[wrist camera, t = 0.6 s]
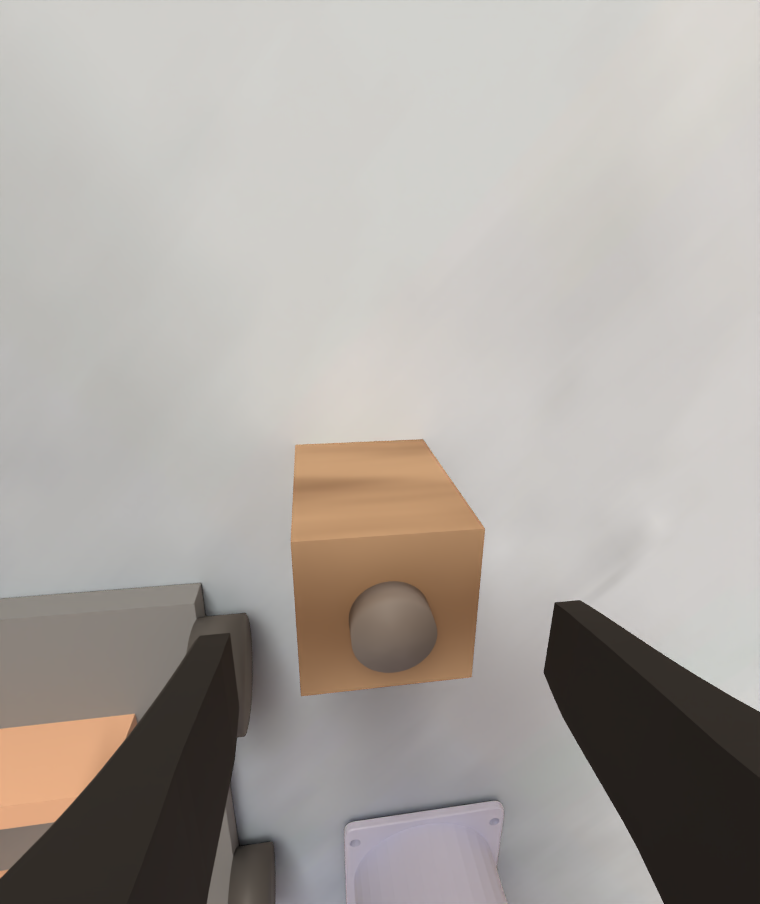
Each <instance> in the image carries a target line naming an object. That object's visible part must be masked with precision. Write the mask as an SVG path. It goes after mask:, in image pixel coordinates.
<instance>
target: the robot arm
mask: <svg viewBox="0 0 760 904" xmlns="http://www.w3.org/2000/svg"><path fill="white" fill-rule="evenodd" d="M544 674H545V677H546V679H547V682H548V684H549V687H550V689H551V691H552V694H553V696H554V699H555V701H556V703H557V705H558V707H559V710H560V712H561V714H562V716H563V718H564V720H565V722H566V724H567V725H568V727H569V729H570V731H571V733H572V734H573V736H574V738H575V740H576V741H577V743H578V745H579V747H580V748H581V750H582V752H583V753H584V755H585V757H586V759H587V760H588V762H589V764H590V765H591V767H592V769H593V771H594V772H595V774H596V776H597V777H598V779H599V781H600V783H601V784H602V786H603V788H604V789H605V791H606V793H607V795H608V796H609V798H610V800H611V801H612V803H613V805H614V807H615V808H616V810H617V812H618V813H619V815H620V817H621V819H622V820H623V822H624V824H625V826H626V828H627V829H628V831H629V833H630V835H631V837H632V839H633V841H634V843H635V844H636V846H637V848H638V850H639V852H640V854H641V856H642V859H643V861H644V863H645V865H646V867H647V869H648V871H649V873H650V875H651V877H652V880H653V882H654V884H655V886H656V888H657V890H658V892H659V894H660V896H661V898H662V900H663V903H664V904H760V712H759V711H757V710H755V709H753V708H752V707H750V706H748V705H746V704H744V703H743V702H741V701H739V700H737V699H735V698H734V697H732V696H730V695H728V694H727V693H725V692H723V691H722V690H720V689H718V688H717V687H715V686H713V685H712V684H710V683H708V682H706V681H705V680H703V679H701V678H700V677H698V676H696V675H695V674H693V673H692V672H690V671H688V670H687V669H685V668H684V667H682V666H680V665H679V664H677V663H676V662H674V661H672V660H671V659H669V658H668V657H666V656H665V655H663V654H662V653H660V652H659V651H657V650H655V649H654V648H652V647H651V646H649V645H648V644H646V643H645V642H643V641H642V640H640V639H639V638H637V637H636V636H634V635H633V634H631V633H630V632H628V631H627V630H625V629H624V628H622V627H621V626H619V625H618V624H616V623H615V622H613V621H612V620H610V619H609V618H607V617H606V616H604V615H603V614H601V613H600V612H598V611H596V610H595V609H593V608H592V607H590V606H589V605H587V604H585V603H584V602H582V601H580V600H577V601H567V602H556V603H555V604H554V611H553V617H552V623H551V630H550V636H549V642H548V648H547V655H546V661H545V667H544ZM238 718H239V699H238V691H237V683H236V675H235V667H234V660H233V652H232V644H231V636H230V633H222V634H212V635H201V636H199V637H198V638H197V639H196V640H195V641H194V643H193V644H192V646H191V648H190V649H189V651H188V652H187V654H186V655H185V657H184V658H183V660H182V661H181V663H180V665H179V666H178V668H177V669H176V671H175V672H174V673H173V675H172V676H171V678H170V679H169V681H168V682H167V684H166V685H165V687H164V688H163V689H162V691H161V692H160V694H159V695H158V696H157V698H156V699H155V700H154V702H153V703H152V705H151V706H150V707H149V709H148V710H147V711H146V713H145V714H144V716H143V717H142V718H141V720H140V721H139V722H138V724H137V725H136V726H135V728H134V729H133V730H132V732H131V733H130V734H129V735H128V737H127V738H126V739H125V740H124V742H123V743H122V744H121V745H120V747H119V748H118V749H117V750H116V752H115V753H114V754H113V755H112V757H111V758H110V759H109V760H108V761H107V763H106V764H105V765H104V766H103V768H102V769H101V770H100V771H99V773H98V774H97V775H96V776H95V777H94V778H93V780H92V781H91V782H90V783H89V784H88V785H87V787H86V788H85V789H84V790H83V791H82V792H81V794H80V795H79V796H78V797H77V798H76V799H75V800H74V801H73V803H72V804H71V805H70V806H69V807H68V808H67V809H66V810H65V811H64V812H63V814H62V815H61V816H60V817H59V818H58V819H57V820H56V821H55V822H54V823H53V824H52V826H51V827H50V828H49V829H48V830H47V831H46V832H45V833H44V834H43V835H42V836H41V837H40V838H39V839H38V840H37V841H36V842H35V843H34V844H33V845H32V846H31V847H30V848H29V849H28V850H27V851H26V853H25V854H24V855H23V856H22V857H21V858H20V859H19V860H18V861H17V862H16V863H15V864H14V865H13V866H12V867H11V868H10V869H9V870H8V871H7V872H6V873H5V874H4V875H3V876H2V877H1V878H0V904H207V899H208V893H209V887H210V882H211V877H212V872H213V867H214V862H215V857H216V852H217V847H218V842H219V837H220V832H221V827H222V822H223V817H224V812H225V807H226V802H227V797H228V791H229V786H230V781H231V776H232V771H233V765H234V760H235V751H236V741H237V730H238ZM503 818H504V809H503V806H502V804H501V803H500V802H498V801H488V802H481V803H474V804H468V805H461V806H454V807H447V808H441V809H434V810H427V811H420V812H414V813H407V814H400V815H393V816H387V817H380V818H373V819H367V820H360V821H354V822H350V823H349V824H347V825H346V826H345V828H344V849H345V882H346V904H508V903H507V900H506V897H505V894H504V891H503V887H502V884H501V881H500V878H499V875H498V872H497V869H496V868H497V861H498V854H499V847H500V839H501V832H502V825H503Z"/></svg>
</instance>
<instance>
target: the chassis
mask: <svg viewBox="0 0 760 904" xmlns="http://www.w3.org/2000/svg"><path fill="white" fill-rule="evenodd" d="M222 633H230V636H231V644H232V652H233V660H234V667H235V675H236V683H237V691H238V699H239V718H238V730H237V737H244V736H245V735H246V733H247V729H248V725H249V719H250V711H251V700H252V640H251V630H250V624H249V619H248V616H247V614H246V613H240V614H228V615H217V616H206V615H205V609H204V602H203V595H202V588H201V583H194V584H181V585H169V586H156V587H143V588H130V589H118V590H105V591H92V592H80V593H67V594H54V595H41V596H29V597H16V598H3V599H0V878H1V877H2V876H3V875H4V874H5V873H6V872H7V871H8V870H9V869H10V868H11V867H12V866H13V865H14V864H15V863H16V862H17V861H18V860H19V859H20V858H21V857H22V856H23V855H24V854H25V853H26V851H27V850H28V849H29V848H30V847H31V846H32V845H33V844H34V843H35V842H36V841H37V840H38V839H39V838H40V837H41V836H42V835H43V834H44V833H45V832H46V831H47V830H48V829H49V828H50V827H51V826H52V824H53V823H54V822H55V821H56V820H57V819H58V818H59V817H60V816H61V815H62V814H63V812H64V811H65V810H66V809H67V808H68V807H69V806H70V805H71V804H72V803H73V801H74V800H75V799H76V798H77V797H78V796H79V795H80V794H81V792H82V791H83V790H84V789H85V788H86V787H87V785H88V784H89V783H90V782H91V781H92V780H93V778H94V777H95V776H96V775H97V774H98V773H99V771H100V770H101V769H102V768H103V766H104V765H105V764H106V763H107V761H108V760H109V759H110V758H111V757H112V755H113V754H114V753H115V752H116V750H117V749H118V748H119V747H120V745H121V744H122V743H123V742H124V740H125V739H126V738H127V737H128V735H129V734H130V733H131V732H132V730H133V729H134V728H135V726H136V725H137V724H138V722H139V721H140V720H141V718H142V717H143V716H144V714H145V713H146V711H147V710H148V709H149V707H150V706H151V705H152V703H153V702H154V700H155V699H156V698H157V696H158V695H159V694H160V692H161V691H162V689H163V688H164V687H165V685H166V684H167V682H168V681H169V679H170V678H171V676H172V675H173V673H174V672H175V671H176V669H177V668H178V666H179V665H180V663H181V661H182V660H183V658H184V657H185V655H186V654H187V652H188V651H189V649H190V648H191V646H192V644H193V643H194V641H195V640H196V639H197V638H198V637H199V636H201V635H212V634H222ZM207 904H275V854H274V845H273V842H265V843H259V844H252V845H245V846H239V843H238V836H237V829H236V822H235V815H234V808H233V801H232V794H231V787H230V786H229V791H228V797H227V802H226V807H225V812H224V817H223V822H222V827H221V832H220V837H219V842H218V847H217V852H216V857H215V862H214V867H213V872H212V877H211V882H210V887H209V893H208V899H207Z"/></svg>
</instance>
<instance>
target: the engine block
mask: <svg viewBox="0 0 760 904" xmlns="http://www.w3.org/2000/svg"><path fill="white" fill-rule="evenodd" d="M484 534H485V528H484V527H483V525H482V524H481V522H480V521H479V519H478V518H477V517H476V515H475V514H474V512H473V511H472V509H471V508H470V506H469V505H468V504H467V502H466V501H465V499H464V498H463V496H462V495H461V493H460V492H459V491H458V489H457V488H456V486H455V485H454V483H453V482H452V480H451V479H450V478H449V476H448V475H447V473H446V472H445V470H444V469H443V467H442V466H441V465H440V463H439V462H438V460H437V459H436V457H435V456H434V455H433V453H432V452H431V450H430V449H429V447H428V446H427V444H426V443H425V442H424V440H423V439H421V440H398V441H374V442H351V443H328V444H304V445H295V465H294V486H293V507H292V528H291V552H292V567H293V582H294V597H295V612H296V627H297V642H298V657H299V672H300V687H301V696H308V695H316V694H325V693H334V692H343V691H352V690H361V689H370V688H379V687H388V686H397V685H406V684H415V683H424V682H433V681H442V680H451V679H460V678H469V677H471V676H472V665H473V654H474V643H475V632H476V621H477V610H478V599H479V589H480V578H481V567H482V556H483V545H484Z"/></svg>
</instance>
